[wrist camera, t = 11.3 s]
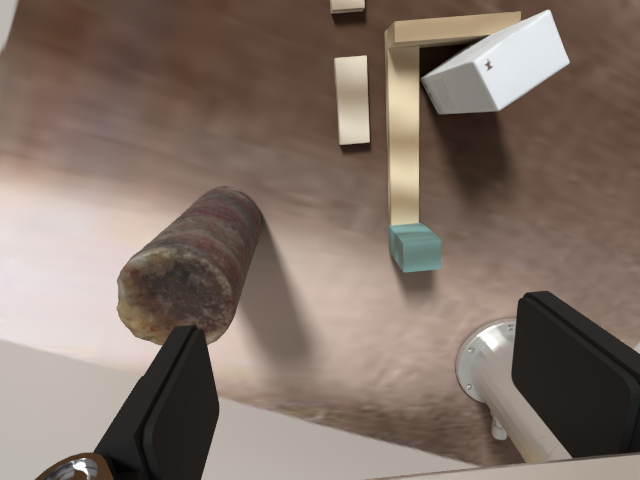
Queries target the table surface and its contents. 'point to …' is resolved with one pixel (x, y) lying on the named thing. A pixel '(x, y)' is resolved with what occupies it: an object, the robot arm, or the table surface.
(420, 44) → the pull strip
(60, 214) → the table surface
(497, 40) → the skincare box
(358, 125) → the broken strip
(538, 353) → the robot arm
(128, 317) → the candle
